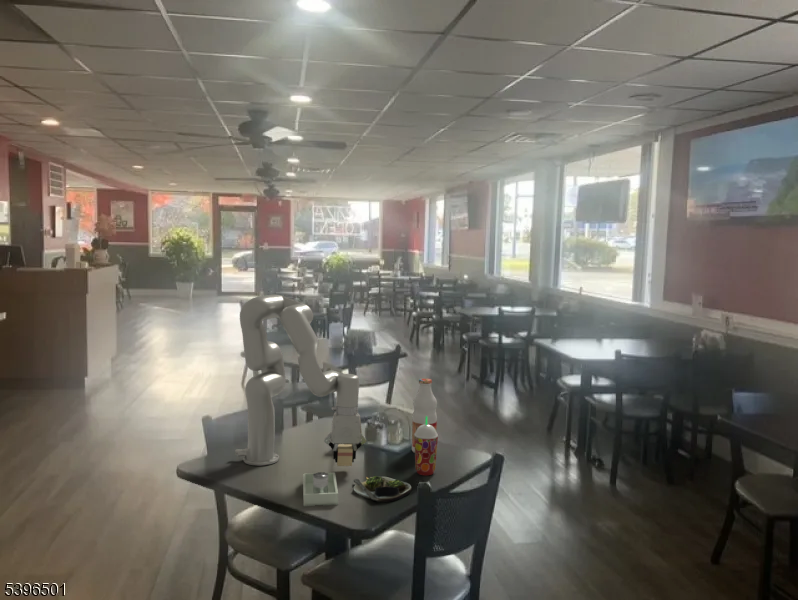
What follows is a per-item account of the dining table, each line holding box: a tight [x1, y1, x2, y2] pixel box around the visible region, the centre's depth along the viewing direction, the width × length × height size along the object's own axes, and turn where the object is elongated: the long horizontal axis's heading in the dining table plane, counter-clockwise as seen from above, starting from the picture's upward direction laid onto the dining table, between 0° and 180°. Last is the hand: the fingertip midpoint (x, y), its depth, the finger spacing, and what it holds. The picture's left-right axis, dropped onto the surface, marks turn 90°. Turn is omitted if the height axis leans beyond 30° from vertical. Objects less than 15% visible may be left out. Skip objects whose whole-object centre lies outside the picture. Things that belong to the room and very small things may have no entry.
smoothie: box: [414, 416, 439, 477], centre depth 224 cm, size 8×8×20 cm
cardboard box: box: [336, 444, 353, 467], centre depth 224 cm, size 5×5×6 cm
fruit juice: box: [411, 378, 438, 454], centre depth 246 cm, size 9×9×28 cm
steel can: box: [313, 471, 329, 494], centre depth 200 cm, size 5×5×7 cm
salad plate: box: [353, 475, 413, 503], centre depth 208 cm, size 19×18×5 cm
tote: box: [302, 471, 339, 507], centre depth 204 cm, size 10×18×4 cm, turn 9°
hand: (344, 460), depth 224 cm, fingers closed on cardboard box, 5 cm apart
